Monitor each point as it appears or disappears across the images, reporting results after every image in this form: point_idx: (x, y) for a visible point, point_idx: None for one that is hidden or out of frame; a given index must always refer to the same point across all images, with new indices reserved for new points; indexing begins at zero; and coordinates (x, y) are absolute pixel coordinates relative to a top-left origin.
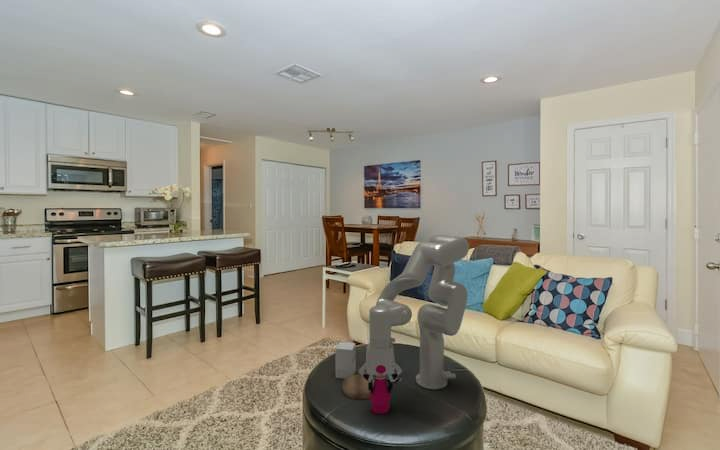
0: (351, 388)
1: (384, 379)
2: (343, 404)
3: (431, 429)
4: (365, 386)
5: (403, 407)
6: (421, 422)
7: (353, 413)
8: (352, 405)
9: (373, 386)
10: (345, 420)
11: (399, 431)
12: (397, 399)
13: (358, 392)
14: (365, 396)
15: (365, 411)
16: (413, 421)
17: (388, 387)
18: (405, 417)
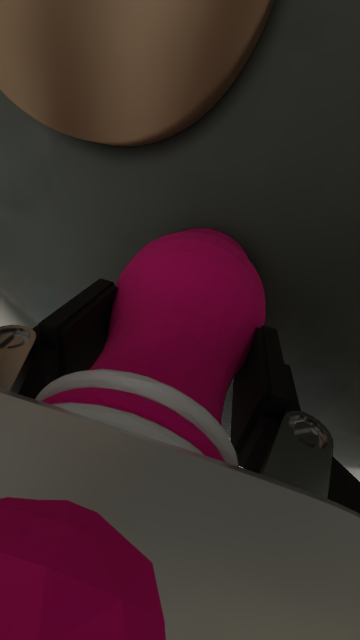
0: (1, 24)
1: None
2: (4, 176)
3: (351, 463)
4: (130, 3)
5: (335, 307)
6: (342, 424)
7: (61, 275)
8: (54, 202)
9: (108, 333)
10: (31, 311)
11: (223, 428)
12: (355, 213)
13: (62, 124)
14: (128, 144)
15: (118, 277)
16: (312, 408)
17: (242, 379)
18: (293, 377)
